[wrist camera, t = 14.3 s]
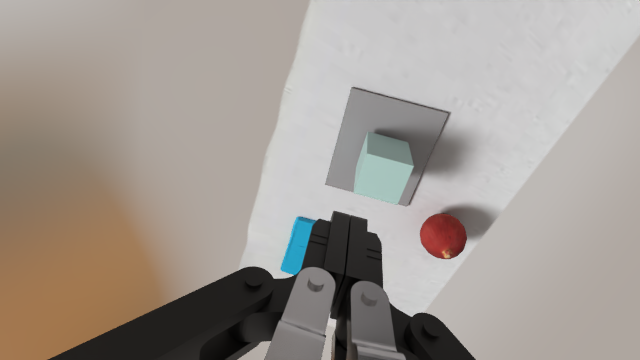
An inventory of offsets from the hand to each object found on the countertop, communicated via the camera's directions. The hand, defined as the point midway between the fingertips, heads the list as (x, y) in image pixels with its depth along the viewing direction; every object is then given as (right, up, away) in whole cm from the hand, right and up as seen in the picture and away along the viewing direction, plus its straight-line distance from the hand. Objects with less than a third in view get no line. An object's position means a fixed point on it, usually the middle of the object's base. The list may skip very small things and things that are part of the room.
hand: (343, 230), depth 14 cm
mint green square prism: (+7, +5, +28) cm, 29 cm away
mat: (+7, +6, +29) cm, 30 cm away
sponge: (-3, -9, +40) cm, 41 cm away
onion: (+16, -3, +33) cm, 37 cm away
